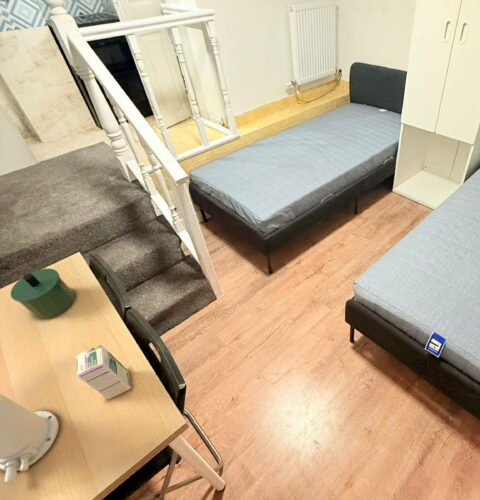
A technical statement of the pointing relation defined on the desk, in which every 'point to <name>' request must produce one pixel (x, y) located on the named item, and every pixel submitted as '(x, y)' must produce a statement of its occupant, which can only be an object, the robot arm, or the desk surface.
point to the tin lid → (35, 285)
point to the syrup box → (103, 372)
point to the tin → (51, 302)
